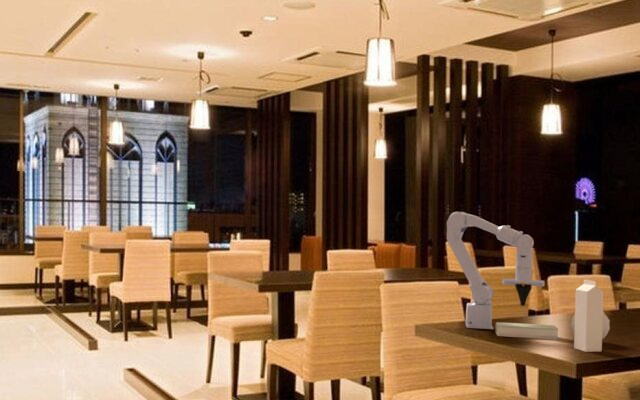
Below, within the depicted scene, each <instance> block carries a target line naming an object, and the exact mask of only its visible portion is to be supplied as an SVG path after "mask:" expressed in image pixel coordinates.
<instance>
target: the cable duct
mask: <svg viewBox="0 0 640 400" xmlns="http://www.w3.org/2000/svg"><path fill="white" fill-rule="evenodd" d="M558 332H559V330H558V331H556V330H539V329H521V328H503V327H497V325H496V324H495V335H497V336H498V337H508V338H509V337H510V338H525V339H526V338H529V339H545V340H546V339H547V340H558V337H559V333H558Z"/></svg>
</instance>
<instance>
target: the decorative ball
mask: <svg viewBox="0 0 640 400" xmlns="http://www.w3.org/2000/svg"><path fill="white" fill-rule="evenodd" d="M610 322H611V321H610V319H609V317H608V316H607V315H606V314H605V311H604V310H603V324H602V340H603V339H605V337H606V336H607V335H608V333H609V331H610ZM570 324H571V329H572V332H573V334H574V333H575V313H574V314H573V316H572V318H571V322H570Z"/></svg>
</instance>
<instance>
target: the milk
mask: <svg viewBox="0 0 640 400" xmlns="http://www.w3.org/2000/svg"><path fill="white" fill-rule="evenodd" d="M574 302H575V304H574V305H575V307H574V309H575V310H574V314H575V333H574V332H573V334H574V335H573V336H574V337H573V338H574V339H573V349H574V350H575V349H576V350H579V351H582V352H586V353H588V352H591V353H593V352H602V350H603V339H602V324H603V311H604V291H603V290H602V289H601V288H599V287H598V286H597V282H596V280H591V279H590V280H589V279H583V284H581V285H580V286H578V287H577V288H576V289H575V301H574Z"/></svg>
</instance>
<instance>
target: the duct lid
mask: <svg viewBox="0 0 640 400" xmlns="http://www.w3.org/2000/svg"><path fill="white" fill-rule="evenodd" d="M496 325H497V327H503V328H521V329H539V330H556V331H558V332H559V328H558V327H557V326H555V324H553V325H552V324H551V325H550V324H538V323H536V324H534V323H520V322H519V323H517V322H500V321H499V322H498V321H496V322H495V326H496Z"/></svg>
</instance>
